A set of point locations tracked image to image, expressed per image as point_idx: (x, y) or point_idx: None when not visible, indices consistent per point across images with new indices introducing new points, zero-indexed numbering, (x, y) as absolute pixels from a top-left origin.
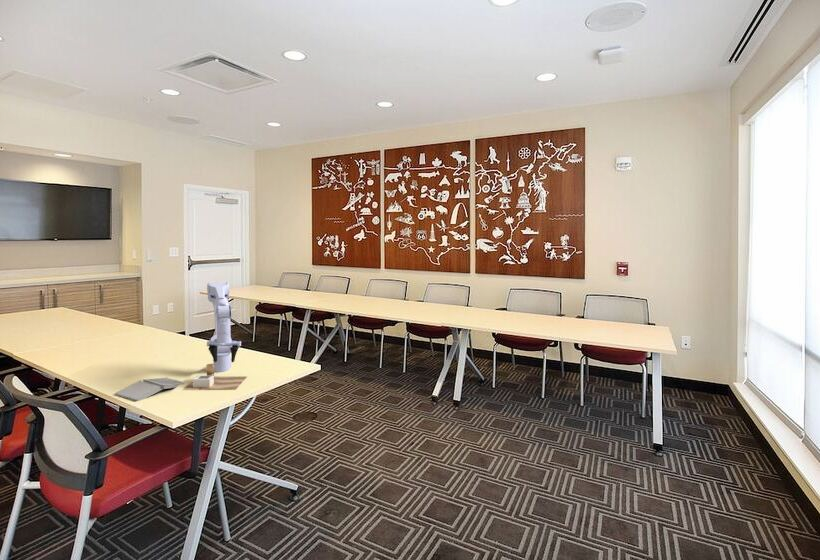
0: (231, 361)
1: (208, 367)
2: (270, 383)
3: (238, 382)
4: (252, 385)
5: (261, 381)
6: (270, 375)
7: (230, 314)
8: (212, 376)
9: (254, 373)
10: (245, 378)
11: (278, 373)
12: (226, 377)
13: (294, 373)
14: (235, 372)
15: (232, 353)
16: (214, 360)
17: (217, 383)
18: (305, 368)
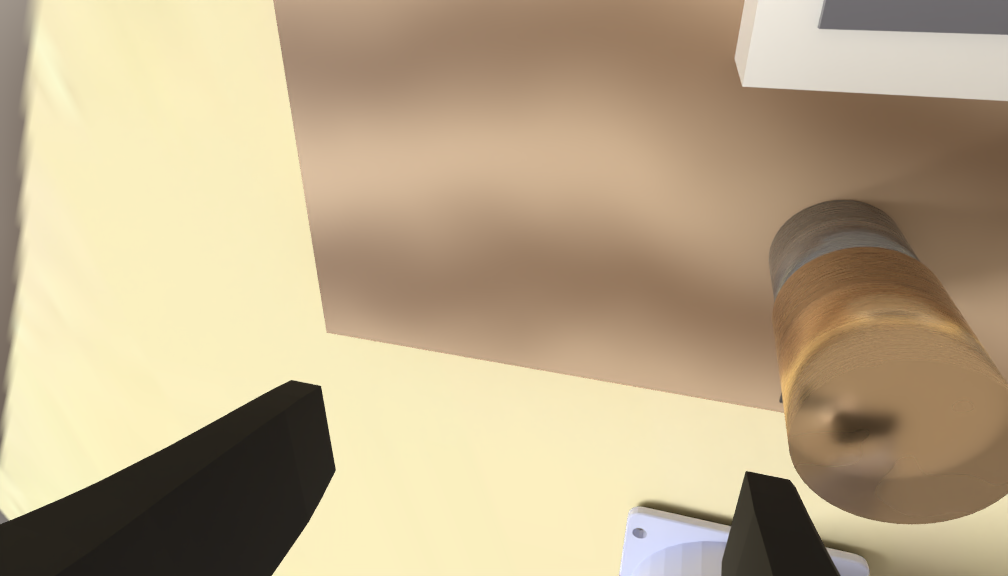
0: (308, 395)
1: (941, 338)
2: (29, 115)
3: (335, 81)
4: (177, 47)
5: (155, 201)
6: (170, 381)
7: None
8: (763, 13)
9: (346, 472)
10: (316, 255)
11: (133, 421)
12: (585, 335)
13: (11, 391)
14: (556, 549)
15: (46, 543)
16: (784, 511)
17: (662, 42)
18: (11, 488)
